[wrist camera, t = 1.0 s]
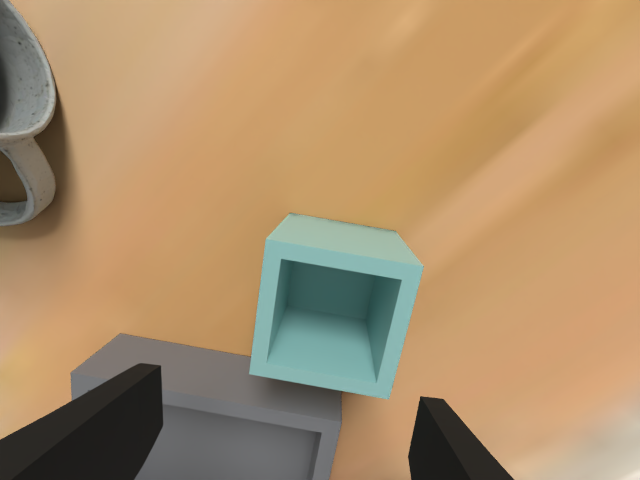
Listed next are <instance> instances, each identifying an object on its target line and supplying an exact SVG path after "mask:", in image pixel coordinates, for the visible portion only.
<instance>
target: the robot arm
mask: <svg viewBox="0 0 640 480" xmlns="http://www.w3.org/2000/svg"><path fill="white" fill-rule="evenodd" d="M162 427H163V402H162V376H161V365H154V364H146V363H139V364H137V365H135V366H133V367H131V368H129V369H127V370H125V371H123V372H122V373H120V374H118V375H116V376H115V377H113V378H111V379H109V380H108V381H106V382H104V383H102V384H101V385H99V386H97V387H95V388H94V389H92V390H90V391H88V392H87V393H85V394H83V395H81V396H80V397H78V398H76V399H74V400H73V401H71V402H69V403H67V404H66V405H64V406H62V407H60V408H59V409H57V410H55V411H53V412H51V413H50V414H48V415H46V416H44V417H42V418H40V419H38V420H37V421H35V422H33V423H31V424H29V425H27V426H25V427H23V428H21V429H20V430H18V431H16V432H14V433H12V434H10V435H8V436H6V437H5V438H3V439H1V440H0V480H134V479H135V478H136V476H137V474H138V473H139V471H140V470H141V468H142V466H143V465H144V463H145V461H146V459H147V457H148V455H149V453H150V451H151V450H152V448H153V446H154V444H155V442H156V440H157V438H158V436H159V434H160V432H161V429H162ZM408 459H409V466H410V473H411V480H514V479H513V478H512V477H511V476H510V475H509V474H508V472H507V471H506V470H505V469H504V468H503V467H502V466H501V465H500V464H499V463H498V461H497V460H496V459H495V458H494V457H493V456H492V455H491V454H490V452H489V451H488V450H487V449H486V448H485V447H484V446H483V444H482V443H481V442H480V441H479V440H478V439H477V438H476V436H475V435H474V434H473V433H472V432H471V431H470V429H469V428H468V427H467V426H466V425H465V424H464V422H463V421H462V420H461V419H460V418H459V417H458V415H457V414H456V413H455V412H454V411H453V410H452V408H451V407H450V406H449V405H448V404H447V403H446V402H445V400H444V399H439V398H430V397H422V396H420V401H419V406H418V411H417V416H416V421H415V426H414V431H413V435H412V440H411V445H410V450H409V455H408Z"/></svg>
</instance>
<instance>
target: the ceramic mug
mask: <svg viewBox="0 0 640 480" xmlns="http://www.w3.org/2000/svg"><path fill="white" fill-rule="evenodd" d="M56 100H57V99H56V90H55V82H54V78H53V75H52V71H51V68H50V65H49V63H48V60H47V58H46V56H45V53H44V51H43V49H42V48H41V45H40V43H39V41H38V40H37V38H36V36H35V35H34V33H33V32H32V30H31V29H30V27H29V26H28V24H27V23H26V21H25V19H24V18H23V16H22V15H21V14H20V13H19V12H18V11H17V9H16V8H15V7H14V6H13V5H12V3H11V2H10V1H9V0H0V151H2V152H3V153H4V154H5V155H6V156H7V157H8V158H9V159H10V161H11V162H12V164H13V166H14V168H15V170H16V172H17V174H18V176H19V177H20V179H21V181H22V183H23V185H24V187H25V190H26V193H27V201H23V202H17V203H5V202H1V201H0V226H10V225H16V224H22V223H24V222H27V221H29V220H32V219H33V218H34V217H35V216H37V215H38V214H39V213H40V212H41V211H42V210H43V209H45V208H46V207H47V206H48V205H49V204H50V203H51V202H52V200H53V198H54V194H55V190H56V186H55V177H54V174H53V171H52V169H51V167H50V165H49V163H48V161H47V159H46V157H45V156H44V154H43V152H42V150H41V149H40V147H39V146H38V144H37V143H36V141H35V139H34V138H33V137H34V136H36V135H37V134H39V133H41V132H42V131H43V130H44V129H45V128H46V126H47V125H48V124H49V123H50V121H51V119H52V118H53V115H54V112H55V105H56Z"/></svg>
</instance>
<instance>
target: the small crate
mask: <svg viewBox="0 0 640 480" xmlns="http://www.w3.org/2000/svg"><path fill="white" fill-rule="evenodd" d="M423 267H424V266H423V265H422V264H421V262H420V261H419V260H418V259H417V257H416V256H415V255H414V254H413V252H412V251H411V250H410V249H409V247H408V246H407V245H406V244H405V242H404V241H403V240H402V239H401V237H400V236H399V235H398V234H397V232H396V231H393V230H387V229H381V228H375V227H370V226H364V225H358V224H352V223H346V222H341V221H335V220H329V219H323V218H317V217H312V216H306V215H300V214H294V213H289V215H288V216H287V217H286V218H285V219H284V220H283V221H282V222H281V223H280V224H279V225H278V226H277V228H276V229H275V230H274V231H273V232H272V233H271V234H270V235H269V236H268V237H267V238H266V242H265V250H264V259H263V267H262V275H261V283H260V291H259V299H258V307H257V315H256V323H255V331H254V339H253V347H252V355H251V363H250V371H249V374H251V375H257V376H262V377H268V378H273V379H279V380H284V381H290V382H295V383H301V384H306V385H312V386H317V387H323V388H328V389H334V390H339V391H345V392H351V393H356V394H362V395H367V396H373V397H378V398H384V399H389V397H390V394H391V390H392V386H393V382H394V378H395V374H396V371H397V367H398V363H399V359H400V355H401V352H402V348H403V344H404V340H405V336H406V332H407V329H408V325H409V321H410V317H411V313H412V309H413V306H414V302H415V298H416V294H417V290H418V287H419V283H420V279H421V275H422V271H423Z"/></svg>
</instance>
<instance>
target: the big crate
mask: <svg viewBox="0 0 640 480" xmlns="http://www.w3.org/2000/svg"><path fill="white" fill-rule="evenodd" d="M139 363H146V364H154V365H161V376H162V402H163V427H162V429H161V432H160V434H159V436H158V438H157V440H156V442H155V444H154V446H153V448H152V450H151V451H150V453H149V455H148V457H147V459H146V461H145V463H144V465H143V466H142V468H141V470H140V471H139V473H138V474H137V476H136V478H135V479H134V480H329V477H330V473H331V468H332V464H333V459H334V455H335V450H336V446H337V441H338V437H339V432H340V428H341V423H342V405H341V391H339V390H334V389H328V388H323V387H317V386H312V385H306V384H301V383H295V382H290V381H284V380H279V379H273V378H268V377H262V376H257V375H251V374H249V371H250V363H251V357H248V356H243V355H237V354H232V353H226V352H220V351H215V350H209V349H204V348H198V347H193V346H187V345H182V344H176V343H170V342H165V341H159V340H154V339H148V338H143V337H137V336H132V335H126V334H121V333H120V334H119V335H118V336H116V337H115V338H114V339H112V340H111V341H110V342H109V343H107V344H106V345H105V346H104V347H102V348H101V349H100V350H99V351H97V352H96V353H95V354H94V355H92V356H91V357H90V358H89V359H87V360H86V361H85V362H83V363H82V364H81V365H80V366H78V367H77V368H76V369H75V370H73V371H72V372H71V393H72V401H73V400H74V399H76V398H78V397H80V396H81V395H83V394H85V393H87V392H88V391H90V390H92V389H94V388H95V387H97V386H99V385H101V384H102V383H104V382H106V381H108V380H109V379H111V378H113V377H115V376H116V375H118V374H120V373H122V372H123V371H125V370H127V369H129V368H131V367H133V366H135V365H137V364H139Z"/></svg>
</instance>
